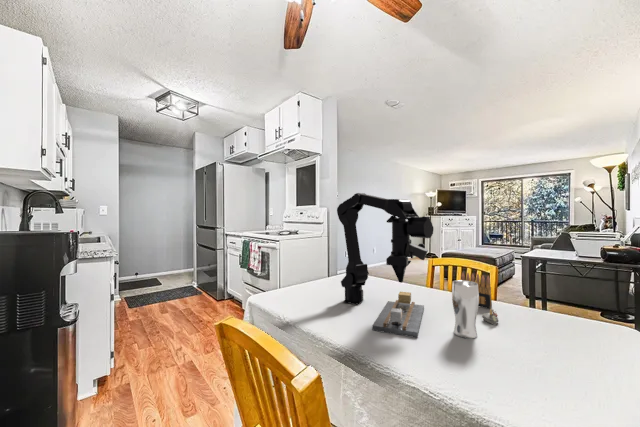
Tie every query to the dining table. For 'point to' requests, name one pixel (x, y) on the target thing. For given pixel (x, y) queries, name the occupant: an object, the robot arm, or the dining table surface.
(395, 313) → the fixed leg
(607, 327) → the dining table surface
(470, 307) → the beer glass
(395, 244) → the robot arm
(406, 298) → the tan wooden block
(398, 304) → the bolt plate
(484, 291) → the ammunition clip
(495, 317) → the figurine
